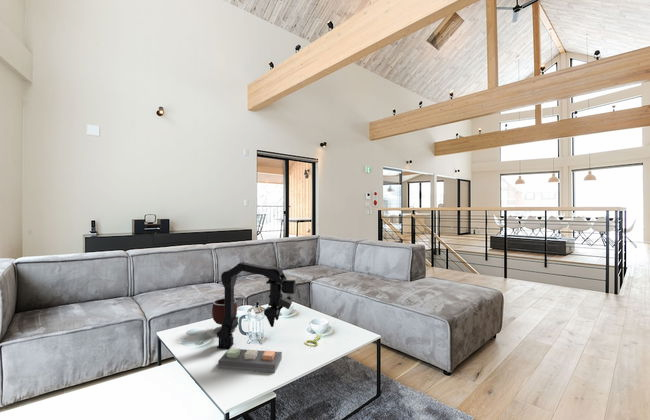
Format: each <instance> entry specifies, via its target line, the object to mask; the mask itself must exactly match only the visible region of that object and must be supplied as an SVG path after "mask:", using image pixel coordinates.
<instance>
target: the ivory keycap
mask: <svg viewBox="0 0 650 420" xmlns="http://www.w3.org/2000/svg"><path fill="white" fill-rule="evenodd" d="M246 350H247V351H246V353H245V358H244V359H255V358H256V357H257V355H258V350H259V349H252V348H251V349H250V348H249V349H246Z"/></svg>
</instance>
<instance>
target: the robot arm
mask: <svg viewBox="0 0 650 420" xmlns="http://www.w3.org/2000/svg"><path fill="white" fill-rule="evenodd" d="M241 272H244V273H245V272H246V273H249V274H255V275H259V276H264V277H265V278H266V279H268V280H267V281H266V282H265V284H269V295H268V298H269V302H268V306H267V307H266V308H265V309H264V310H263V316H264V317H266V319H267V321H268V323H269V325H270V327H271V328H274V326H275V325H274V324H275V320H276V321H278V320H279V317H280V313H281V311H282V309H283V308H285V309H286V310H289V309H290V308H291V306H292V303H293V300H292V296H290V295H295V294H296V293H297V288H298V287H297V282H296V279H287V277H286V275H285V273H284V271H283V269H282V267H280V266H263V265H258V264H253V263H248V262H245V261H242V262H239V263H238V264H236V265H235V266H233V267H232V268H231V269H228V270H225V271H223V272H222V273H221V275H220V280H221V284H222V286H223V289H224V298H225V315H224V319H223V321H222V325H220V326H221V330H220V331H219V332H217V334H216V336H217V338H218V346H217V347H216V348H217V350H218V349H220V350H229V348H232V347H233V345H235V344H234V336H233V333H234V332H235V331H234V329H235V330H236V329H237V327H238V325H239V316H236V317H235V315H234V299H235V285H236V283H237V278H238V275H239V274H241ZM284 294H285V295H286V294H287V295H288V296H286V297H284ZM233 331H234V332H233ZM232 332H233V333H232Z"/></svg>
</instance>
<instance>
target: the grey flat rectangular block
mask: <svg viewBox="0 0 650 420" xmlns="http://www.w3.org/2000/svg"><path fill="white" fill-rule="evenodd" d="M239 349H240V355H239V356H238V357H237V358H227V352H228V351H229V350H230V348H229V349H227V350H226V351H225V353H224V354H223V355H222V356H221V357H220V358H219V359H218V365H217V366H218V367H217V368H218V369H221V370H235V371H248V372H249V371H250V372H259V373H261V372H262V373H274V374H275V373H276V371H277V369H278V367H279V365H280V363H281V362H282V357H283V354H282V353H283V352H282V351H275V358H274V359H273V361H269V360H263V354H264V352H265V351H266V350H259V349H257V350H258V355H257V357H256V358H255V359H244V358H245V353H246V351H247V350H248V349H246V348H245V349H241V348H239Z"/></svg>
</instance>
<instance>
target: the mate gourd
mask: <svg viewBox="0 0 650 420" xmlns="http://www.w3.org/2000/svg"><path fill="white" fill-rule="evenodd" d="M237 313H238V303H237V300H236V299H235V298H234V315H235V317H237V315H238V314H237ZM211 315H212V320H213V321H214V323H215V324H217V325H220V326H217V327H215V328H214V329H212V330H213V334H215V335H217V332H219V331H220V330H221V326H222V321H223V319H224V315H225V297H224V298H219V299H215V300H213V302H212V308H211ZM235 331H236V328H235V329H234V331H233V332H232V334H233V333H235Z"/></svg>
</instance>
